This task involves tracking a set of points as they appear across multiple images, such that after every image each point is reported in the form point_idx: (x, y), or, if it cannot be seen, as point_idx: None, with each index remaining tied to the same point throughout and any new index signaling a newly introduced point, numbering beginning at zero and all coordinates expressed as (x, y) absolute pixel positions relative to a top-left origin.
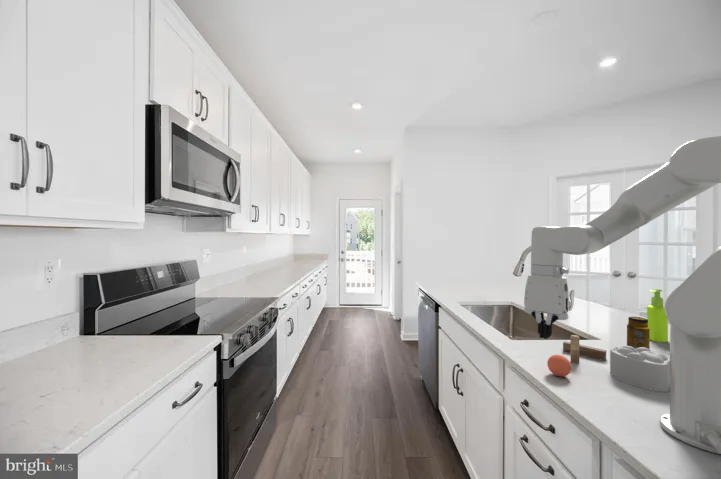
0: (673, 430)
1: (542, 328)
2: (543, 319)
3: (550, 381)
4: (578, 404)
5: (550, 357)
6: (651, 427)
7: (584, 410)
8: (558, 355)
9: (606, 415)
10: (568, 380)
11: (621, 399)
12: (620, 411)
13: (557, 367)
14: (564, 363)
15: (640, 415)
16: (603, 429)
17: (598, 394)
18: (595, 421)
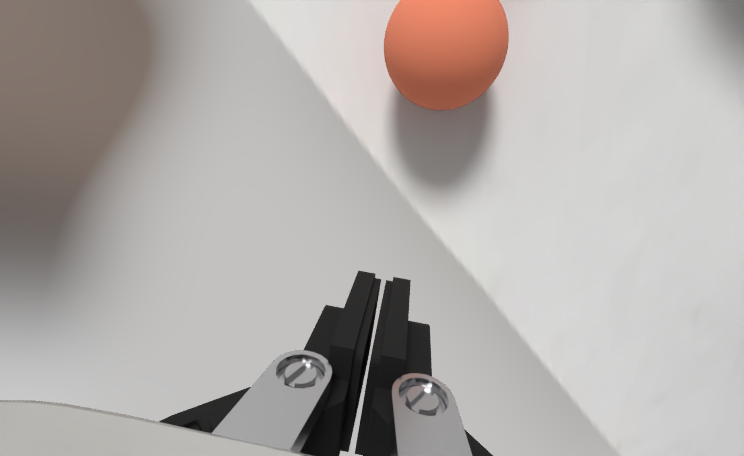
0: None
1: (354, 421)
2: (326, 425)
3: (417, 158)
4: (526, 302)
5: (398, 57)
6: (740, 331)
7: (543, 333)
8: (443, 42)
9: (609, 329)
10: None
11: (692, 157)
12: (663, 273)
13: (442, 109)
14: (478, 86)
15: (730, 264)
16: (588, 413)
17: (603, 167)
18: (571, 382)
